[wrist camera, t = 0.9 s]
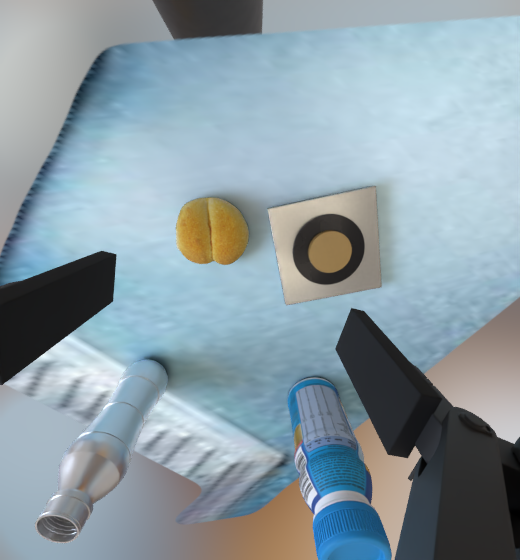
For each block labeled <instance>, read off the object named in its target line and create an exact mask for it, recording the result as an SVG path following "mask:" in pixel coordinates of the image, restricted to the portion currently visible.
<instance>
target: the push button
mask: <svg viewBox="0 0 520 560" xmlns="http://www.w3.org/2000/svg"><path fill="white" fill-rule="evenodd" d="M267 209H268V215H269V220H270V225H271V230H272V236H273V241H274V246H275V252H276V257H277V262H278V268H279V273H280V278H281V283H282V289H283V294H284V299H285V304H286V305H290V304H296V303H301V302H306V301H311V300H317V299H322V298H327V297H332V296H338V295H343V294H348V293H354V292H359V291H364V290H369V289H375V288H380V287H381V269H380V252H379V234H378V217H377V199H376V186H370V187H365V188H361V189H356V190H351V191H346V192H342V193H337V194H332V195H328V196H323V197H318V198H313V199H309V200H304V201H299V202H295V203H290V204H285V205H280V206H276V207H271V208H267Z"/></svg>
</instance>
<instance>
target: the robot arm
mask: <svg viewBox="0 0 520 560" xmlns="http://www.w3.org/2000/svg"><path fill="white" fill-rule="evenodd" d="M115 267H116V254H113V253H108V252H104V251H100V252H97V253H95V254H92V255H89V256H87V257H84V258H81V259H79V260H76V261H73V262H71V263H68V264H65V265H63V266H60V267H57V268H55V269H52V270H49V271H47V272H44V273H41V274H39V275H36V276H33V277H31V278H28V279H25V280H23V281H18V282H12V283H8V284H6V285H3V286H0V385H3V384H4V383H5V382H7V381H8V380H9V379H11V378H12V377H13V376H15V375H16V374H17V373H19V372H20V371H21V370H22V369H24V368H25V367H26V366H28V365H29V364H30V363H32V362H33V361H34V360H36V359H37V358H38V357H40V356H41V355H42V354H44V353H45V352H46V351H48V350H49V349H50V348H52V347H53V346H54V345H56V344H57V343H58V342H60V341H61V340H62V339H64V338H65V337H66V336H68V335H69V334H70V333H72V332H73V331H74V330H76V329H77V328H78V327H80V326H81V325H82V324H84V323H85V322H86V321H87V320H89V319H90V318H91V317H93V316H94V315H95V314H97V313H98V312H99V311H101V310H102V309H103V308H105V307H106V306H107V305H109V304H110V303H111V302H113V294H114V280H115ZM336 351H337V353H338V355H339V357H340V359H341V361H342V363H343V365H344V367H345V369H346V371H347V373H348V375H349V377H350V379H351V381H352V383H353V385H354V387H355V389H356V391H357V393H358V395H359V397H360V399H361V401H362V403H363V405H364V407H365V409H366V411H367V413H368V415H369V417H370V419H371V421H372V424H373V425H374V428H375V430H376V432H377V434H378V435H379V438H380V439H381V442H382V444H383V446H384V447H385V449H386V451H387V454H388V455H394V456H399V457H404V458H408V456H409V455H410V453H411V452H412V450H413V448H414V446H416V447H417V449H418V451H419V452H420V454H421V455H422V456H421V458H420V459H419V461H418V462H417V464H416V466H415V467H414V469H413V471H412V472H411V474H410V476H409V477H408V479H409V480H410V481H411V480H412V479H413V482H412V487H411V491H410V495H409V500H408V504H407V508H406V513H405V517H404V522H403V526H402V530H401V534H400V539H399V543H398V548H397V552H396V556H395V560H520V437H519V439H518V440H517V441H516V443H515V444H513V443H510V442H508V441H506V440H503V439H501V438H498V437H497V436H496V433H495V431H494V430H493V429H492V428H491V427H490V426H489V425H488V424H487V423H486V422H484V421H483V420H482V419H481V418H479V417H478V416H476V415H475V414H473V413H471V412H469V411H467V410H465V409H462V408H458V407H453V406H452V405H451V403H450V402H448V400H447V399H446V398H445V397H444V396H443V395H442V394H441V393H440V391H439V390H438V389H437V388H436V387H435V386H433V384H432V383H431V382H430V381H429V379H427V377H426V376H425V375H424V374H423V373H422V372H421V371H420V370H419V369H418V368H417V367H416V366H414V365H413V364H412V363H410V362H409V361H408V360H407V359H406V357H405V356H404V355H403V354H402V353H401V352H400V351H399V350H398V348H397V347H396V346H395V345H394V344H393V343H392V342H391V341H390V340H389V338H388V337H387V336H386V335H385V334H384V333H383V332H382V331H381V330H380V328H379V327H378V326H377V325H376V324H375V323H374V322H373V321H372V319H371V318H370V317H369V316H368V315H367V314H366V313H365V312H364V311H361V310H357V309H353V308H351V310H350V313H349V316H348V318H347V321H346V323H345V326H344V328H343V331H342V333H341V336H340V338H339V341H338V343H337V346H336Z"/></svg>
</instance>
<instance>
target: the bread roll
mask: <svg viewBox="0 0 520 560" xmlns="http://www.w3.org/2000/svg"><path fill="white" fill-rule="evenodd" d="M248 240H249V230H248V226H247V224H246V221H245V219H244V217H243V215H242V214H241V212H240V211H239V210H238V209H237V208H236V207H235V206H233V205H232V204H231V203H229V202H227V201H225V200H223V199H220V198H215V197H210V198H198V199H195V200H192V201H190V202H188V203H186V204H185V205H184V206H183V207H182V209H181V211H180V213H179V216H178V220H177V223H176V244H177V249H179V250H180V251H181V253H182V254H183V255H184V256H185V257H186V258H187V259H188V260H190V261H192V262H195V263H199V264H206V263H210V262H212V261H216V262H217V263H219V264H223V265H227V264H231V263H233V262H235V261H236V260H237V259H238V258H239V257H240V256H241V255H242V254H243V252H244V250H245V248H246V246H247V244H248Z"/></svg>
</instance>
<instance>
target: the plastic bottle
mask: <svg viewBox="0 0 520 560" xmlns="http://www.w3.org/2000/svg"><path fill="white" fill-rule="evenodd" d="M167 382H168V377H167V373H166V371H165V369H164V367H163V366H162V365H161V364H159V363H158V362H156V361H154V360H148V359H147V360H140V361H137V362H135V363H133V364H132V365H131V366H130V367H129V368H127V369H126V370H125V372H124V373H123V375H122V377H121V379H120V381H119V383H118V386H117V388H116V390H115V391H114V393H113V395H112V396H111V398H110V400H109V401H108V403H107V404H106V406H105V407H104V408H103V409H102V411H101V412H100V413H99V414H98V416H97V417H96V418H95V419H94V421H93V422H92V423H91V424H90V425H89V426H88V427H87V428H86V429H85V430H84V431H83V432H82V433H81V434H80V435H79V436H78V438H77V439H76V440H74V442H73V443H72V444H71V445H70V446H69V448H68V449H67V450H66V451H65V453H64V456H63V458H62V461H61V463H60V465H59V474H58V491H57V492H55V493H54V494H52V496H51V497H50V499H49V500H48V502H47V504H46V507H45V508H44V510H43V511H42V513H41V514H40V516H39V517H38V519H37V521H36V523H35V528H36V530H37V532H38V533H39V534H40V535H41V536H42V537H43V538H45V539H47V540H49V541H52V542H57V543H67V542H71V541H73V540H75V539H76V538H77V537H78V535H79V534H80V532H81V530H82V528H83V526H84V524H85V522H86V520H88V519H89V517H90V515H91V513H92V511H93V504H94V503H96V502H97V501H98V500H100V499H102V498H103V497H105V496H106V495H107V494H108V493H109V492H111V491H112V490H113V489H114V488H115V487H116V486H117V485H118V484H119V483H120V481H121V480H122V479H123V478H124V476H125V474H126V471H127V468H128V466H129V463H130V460H131V457H132V454H133V451H134V448H135V445H136V442H137V439H138V437H139V435H140V433H141V430H142V428H143V426H144V423H145V421H146V419H147V418H148V416H149V414H150V413H151V411H152V409H153V408H154V406H155V405H156V404H157V403H158V401H159V400H160V399H161V397H162V396H163V394H164V392H165V390H166V386H167Z"/></svg>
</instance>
